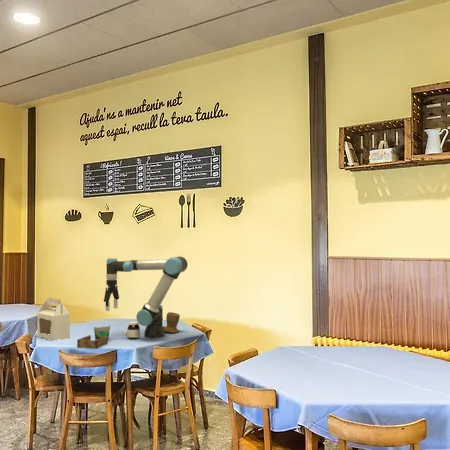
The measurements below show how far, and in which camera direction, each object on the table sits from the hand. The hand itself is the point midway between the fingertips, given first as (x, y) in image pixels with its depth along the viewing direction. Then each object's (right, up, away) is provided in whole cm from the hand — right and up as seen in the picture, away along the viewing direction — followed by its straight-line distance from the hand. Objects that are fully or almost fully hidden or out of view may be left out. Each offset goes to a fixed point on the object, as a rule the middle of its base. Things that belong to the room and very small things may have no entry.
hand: (111, 309), depth 363 cm
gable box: (-42, -20, 0) cm, 47 cm away
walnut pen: (-7, -20, -26) cm, 33 cm away
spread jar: (+15, -20, -2) cm, 25 cm away
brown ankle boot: (+41, -21, +20) cm, 50 cm away
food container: (-3, -20, -12) cm, 24 cm away
